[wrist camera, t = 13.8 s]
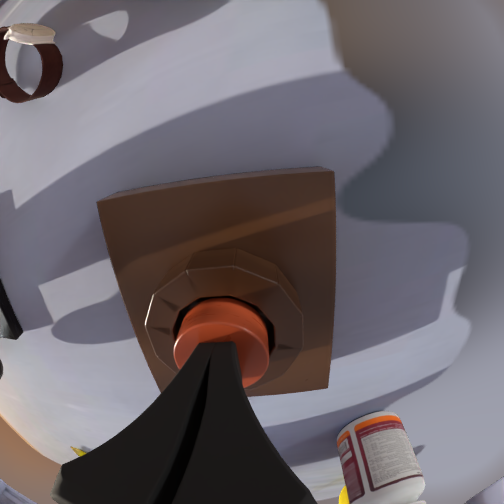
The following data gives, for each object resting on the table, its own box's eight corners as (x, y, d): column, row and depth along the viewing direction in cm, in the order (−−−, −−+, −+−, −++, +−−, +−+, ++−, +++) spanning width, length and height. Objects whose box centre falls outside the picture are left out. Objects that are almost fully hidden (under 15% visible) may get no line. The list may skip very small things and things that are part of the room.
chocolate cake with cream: (89, 50, 10) (49, 34, 6) (44, 122, 11) (0, 124, 8) (29, 16, 8) (-4, 5, 5) (-6, 76, 9) (-42, 74, 6)
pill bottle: (356, 449, 22) (378, 540, 11) (321, 435, 20) (340, 546, 10) (407, 418, 20) (444, 511, 10) (381, 400, 19) (422, 517, 8)
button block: (321, 363, 17) (334, 411, 13) (169, 373, 17) (156, 418, 13) (321, 166, 12) (349, 176, 9) (116, 192, 13) (73, 211, 9)
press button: (270, 360, 12) (272, 389, 10) (192, 364, 12) (185, 391, 11) (263, 292, 11) (265, 318, 9) (173, 299, 11) (161, 325, 9)
